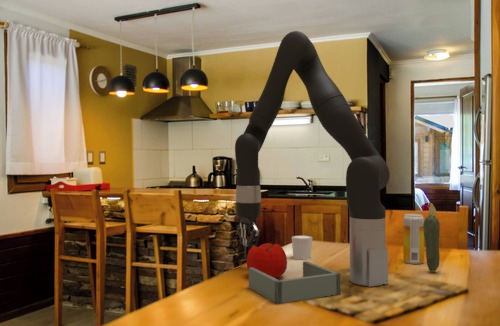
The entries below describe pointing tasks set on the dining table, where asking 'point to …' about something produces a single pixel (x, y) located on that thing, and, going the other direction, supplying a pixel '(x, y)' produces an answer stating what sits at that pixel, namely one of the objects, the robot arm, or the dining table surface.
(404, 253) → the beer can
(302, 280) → the crate
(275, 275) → the tomato
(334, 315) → the dining table surface
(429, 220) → the vegetable
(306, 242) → the white cylindrical piece
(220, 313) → the dining table surface
